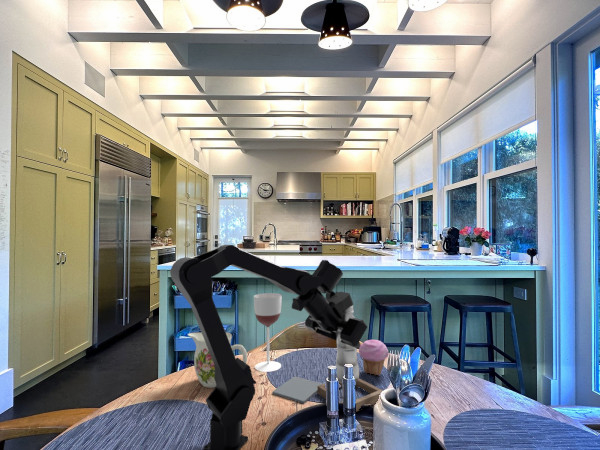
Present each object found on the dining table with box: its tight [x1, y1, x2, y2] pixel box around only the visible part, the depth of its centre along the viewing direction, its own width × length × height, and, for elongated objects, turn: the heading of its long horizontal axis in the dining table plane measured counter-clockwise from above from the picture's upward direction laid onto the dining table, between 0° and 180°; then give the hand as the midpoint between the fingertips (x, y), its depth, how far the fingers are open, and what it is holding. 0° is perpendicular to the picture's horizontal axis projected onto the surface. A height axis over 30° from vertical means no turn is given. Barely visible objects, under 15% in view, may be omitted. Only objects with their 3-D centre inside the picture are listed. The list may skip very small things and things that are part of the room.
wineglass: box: [253, 292, 283, 373], centre depth 103 cm, size 9×10×23 cm
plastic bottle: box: [335, 305, 360, 383], centre depth 83 cm, size 6×7×20 cm
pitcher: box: [187, 331, 248, 389], centre depth 91 cm, size 11×18×14 cm, turn 83°
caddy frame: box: [317, 378, 384, 413], centre depth 82 cm, size 12×12×2 cm
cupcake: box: [358, 339, 389, 376], centre depth 97 cm, size 9×9×10 cm
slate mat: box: [272, 376, 323, 404], centre depth 86 cm, size 11×10×1 cm
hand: (350, 343), depth 84 cm, fingers closed on plastic bottle, 6 cm apart
